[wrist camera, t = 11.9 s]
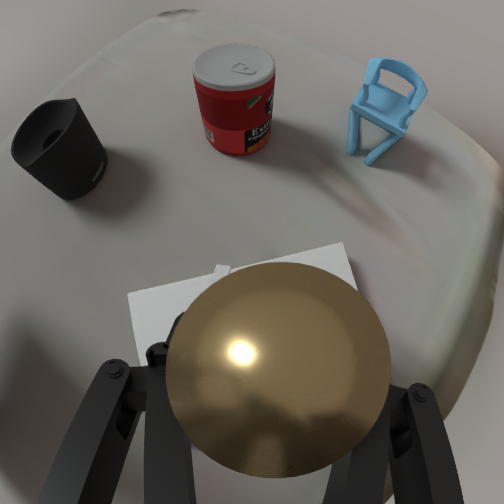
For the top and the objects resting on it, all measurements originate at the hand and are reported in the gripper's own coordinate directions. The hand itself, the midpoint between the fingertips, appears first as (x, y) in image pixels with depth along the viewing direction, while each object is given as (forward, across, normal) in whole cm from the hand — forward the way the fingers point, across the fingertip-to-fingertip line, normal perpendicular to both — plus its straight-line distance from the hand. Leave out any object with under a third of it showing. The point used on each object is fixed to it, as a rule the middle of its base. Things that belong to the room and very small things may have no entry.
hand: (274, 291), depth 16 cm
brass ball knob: (0, 0, -5) cm, 5 cm away
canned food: (+23, -5, +6) cm, 24 cm away
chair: (+24, +11, +7) cm, 28 cm away
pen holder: (+18, -25, +2) cm, 31 cm away
